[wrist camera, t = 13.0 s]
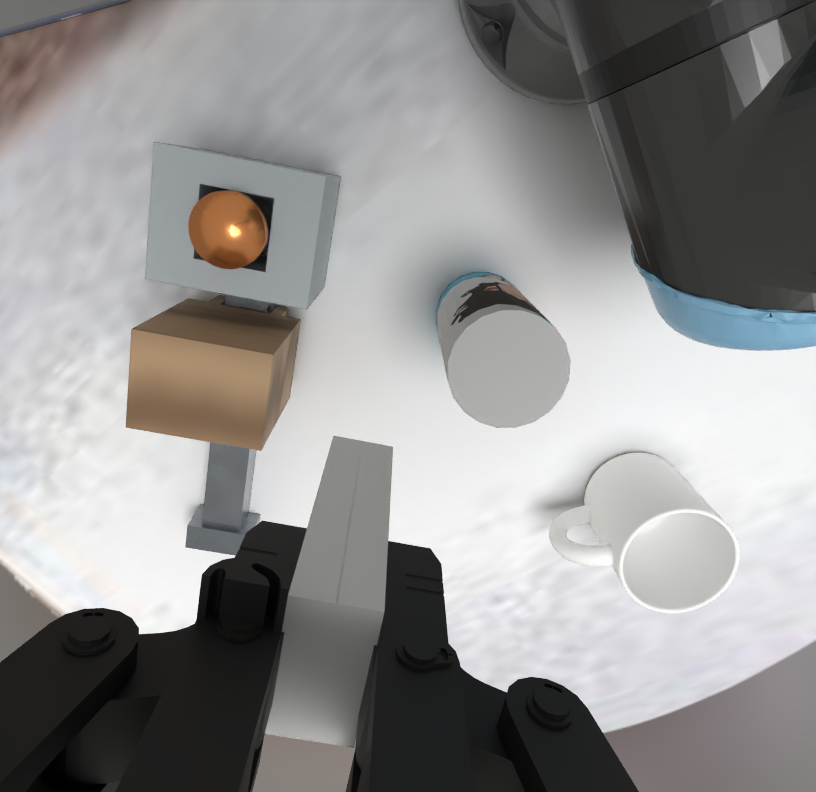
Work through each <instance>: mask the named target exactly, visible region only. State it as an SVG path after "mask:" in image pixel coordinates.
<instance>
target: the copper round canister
mask: <svg viewBox="0 0 816 792" xmlns="http://www.w3.org/2000/svg"><path fill="white" fill-rule="evenodd" d="M272 214H273V207H272V206H271V205H270V204H269V203H268V202H266V201H265V200H263V199H261V198H257V197H248V196H247V195H245V194H242V193H240V192H236V191H216V192H212V193H210V194H207V195H206V196H204V197H202V198H201V199H200V200H199V201H198V202H197V203H196V204H195V206H194V208H193V209H192V211H191V214H190V217H189V223H188V230H189V236H190V240H191V242H192V245H193V247H194V248H195V250H196V251H197V253H198V254H199V255H200V256H201V257H202V258H203V259H204V260H205V261H207V262H208V263H210V264H211V265H213V266H216V267H219V268H222V269H237V268H241V267H244V266H246V265H248V264H250V263H251V262H253V261H255V260H256V259H257V258H258V257H259V256H260V255H261V253H262V252H263V250H264V249H265V246H267V245H269V239H270V231H271V222H272Z"/></svg>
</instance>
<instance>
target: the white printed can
mask: <svg viewBox="0 0 816 792" xmlns="http://www.w3.org/2000/svg"><path fill="white" fill-rule="evenodd" d="M436 324H437V329H438V334H439V339H440V344H441V349H442V354H443V359H444V364H445V369H446V374H447V379H448V383H449V386H450V389H451V392H452V395H453V398H454V399H455V400H456V402H457V403H458V404H459V406H460V407H461V408H462V410H463V411H464V412H465V413H466V414H468V415H469V416H471V417H472V418H474V419H475V420H477V421H478V422H480V423H483V424H486V425H490V426H493V427H496V428H516V427H519V426H522V425H526V424H529V423H532V422H535V421H536V420H538V419H539V418H541V417H542V416H544V415H545V414H547V413H548V412H550V411H551V409H552V408H553V407H554V406H555V405H556V403H557V402H558V401H559V400H560V399H561V397H562V395H563V393H564V391H565V388H566V386H567V383H568V381H569V373H570V357H569V354H568V350H567V346H566V343H565V341H564V340H563V338H562V337H561V335H560V334H559V332H558V331H557V329H556V328H555V327H554V326H553V325H552V324H551V323H550V322H549V321H548V320H547V319H546V318H545V317H544V316H543V315H542V314H541V313H540V312H539V311H538V310H537V309H536V308H535V307H534V306H533V305H532V304H531V303H530V302H529V301H528V300H527V299H526V298H525V297H524V296H523V295H522V294H521V293H520V292H519V291H518V290H517V289H516V288H515V287H514V286H513V285H512V284H511V283H509V282H508V281H507V280H505V279H504V278H503V277H501V276H498V275H495V274H492V273H489V272H474V273H471V274H468V275H464V276H461V277H460V278H458V279H457V280H456V281H454V282H453V283H451V284H450V285H449V286H448V287H447V289H446V290H445V291H444V293H443V294H442V296H441V297H440V300H439V303H438V306H437V309H436Z"/></svg>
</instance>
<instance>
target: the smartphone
mask: <svg viewBox="0 0 816 792" xmlns="http://www.w3.org/2000/svg"><path fill="white" fill-rule="evenodd" d="M127 1H130V0H0V37H3V36H6V35H10V34H14V33H17V32H21V31H24V30H28V29H31V28H35V27H38V26H42V25H45V24H49V23H53V22H56V21H60V20H64V19H68V18H72V17H75V16H79V15H82V14H85V13H88V12H92V11H95V10H99V9H102V8H106V7H109V6H113V5H116V4H120V3H123V2H127Z"/></svg>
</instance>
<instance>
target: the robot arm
mask: <svg viewBox="0 0 816 792" xmlns="http://www.w3.org/2000/svg"><path fill="white" fill-rule="evenodd" d="M459 6H460V12H461V16H462V20H463V23H464V26H465V29H466V32H467V35H468V37H469V39H470V41H471V43H472V45H473V47H474V49H475V51H476V53H477V54H478V56H479V57H480V59H481V60H482V62H483V63H484V64H485V65H486V67H487V68H488V69H489V70H490V71H491V72H492V73H493V74H494V75H495V76H496V77H497V78H498V79H499V80H500V81H502V82H503V83H504V84H505V85H507V86H508V87H510V88H511V89H513V90H515V91H516V92H518V93H520V94H522V95H525V96H527V97H529V98H532V99H535V100H539V101H543V102H548V103H556V104H572V103H581V102H586V101H587V107H588V110H589V113H590V116H591V119H592V122H593V125H594V128H595V131H596V134H597V137H598V140H599V143H600V146H601V149H602V152H603V155H604V159H605V162H606V165H607V168H608V171H609V174H610V177H611V180H612V183H613V186H614V189H615V192H616V195H617V198H618V201H619V204H620V207H621V210H622V213H623V216H624V220H625V223H626V226H627V229H628V232H629V235H630V238H631V241H632V245H631V253H632V258H633V262H634V264H635V266H636V267H637V268H638V270H639V273H640V274H641V275H642V276H643V277H644V278H645V281H646V284H647V286H648V289H649V291H650V294H651V297H652V299H653V302H654V304H655V307H656V309H657V311H658V313H659V315H661V317H662V318H663V319H664V320H665V322H666V323H667V324H668V325H669V326H670V327H672V328H673V329H674V330H675V331H677V332H679V333H680V334H682V335H684V336H686V337H687V338H690V339H692V340H695V341H698V342H701V343H704V344H708V345H712V346H716V347H722V348H729V349H739V350H759V351H760V350H788V349H798V348H805V347H812V346H816V0H459ZM590 102H591V103H590ZM588 103H589V104H588ZM392 455H393V447H391V446H386V445H380V444H375V443H370V442H364V441H359V440H353V439H348V438H343V437H337V436H333V440H332V443H331V447H330V450H329V454H328V457H327V461H326V464H325V468H324V471H323V475H322V478H321V482H320V485H319V489H318V492H317V496H316V499H315V503H314V506H313V510H312V513H311V517H310V520H309V524H308V527H307V529H306V528H301V527H295V526H289V525H284V524H278V523H272V522H267V521H262V522H260V523H259V524H257V525H256V526H254V527H253V528H251V529H250V530H249V531H247V532H246V534H245V537H244V539H243V541H242V543H241V545H240V549H239V550H238V552H237V554H236V556H235V558H231V559H225V560H222V561H220V562H217V563H215V564H213V565H211V566H210V567H209V568H208V569H207V570H206V571H205V572H204V573H203V574H202V579H201V588H200V596H199V604H198V613H197V620H196V622H195V624H193V625H191V626H189V627H187V628H184V629H181V630H177V631H172V632H165V633H154V634H139V628H138V627H137V625H136V624H135V622H134V621H133V619H132V618H130V617H129V616H127V615H125V614H123V613H122V612H120V611H115V610H110V609H105V608H95V609H82V610H79V611H75V612H72V613H68V614H65V615H63V616H62V617H60V618H58V619H57V620H55V621H53V622H51V623H50V624H48V625H47V626H46V627H45V628H43V629H42V630H41V631H39V632H38V633H37V634H36V635H35V636H33V637H32V638H31V639H29V640H28V641H27V642H26V643H24V644H23V645H22V646H21V647H19V648H18V649H17V650H15V651H14V652H13V653H12V654H10V655H9V656H8V657H7V658H5V659H4V660H3V661H1V662H0V792H252V790H253V786H254V782H255V778H256V774H257V770H258V766H259V762H260V757H261V750H262V745H263V739H264V735H265V734H270V735H277V736H283V737H289V738H295V739H302V740H308V741H315V742H322V743H328V744H334V745H341V746H347V747H354V745H355V740H356V749H355V753H354V758H353V762H352V767H351V771H350V775H349V780H348V784H347V789H346V792H639V791H638V790H637V788H636V786H635V785H634V783H633V782H632V780H631V778H630V777H629V775H628V773H627V772H626V770H625V768H624V767H623V765H622V764H621V762H620V761H619V759H618V757H617V755H616V754H615V752H614V751H613V749H612V748H611V746H610V744H609V743H608V741H607V739H606V738H605V736H604V734H603V733H602V731H601V729H600V728H599V726H598V725H597V723H596V721H595V720H594V718H593V716H592V715H591V713H590V712H589V710H588V708H587V707H586V706H585V705H584V704H583V702H582V701H581V700H580V699H579V698H578V696H577V695H575V694H574V693H572V692H571V691H570V690H568V689H567V688H565V687H564V686H562V685H560V684H558V683H555V682H553V681H550V680H548V679H542V678H535V677H528V678H523V679H518V680H517V681H516V682H514V683H513V684H512V685H510V686H509V688H508V692H507V693H506V692H504V691H502V690H499V689H497V688H494V687H492V686H490V685H487V684H485V683H483V682H481V681H479V680H477V679H475V678H474V677H472V676H471V675H469V674H468V673H467V672H465V671H464V670H463V669H462V668H461V667H460V662H459V659H458V657H457V654H456V651H455V650H454V649H453V648H452V647H451V646H450V645H449V644H448V635H447V624H446V613H445V601H444V596H443V594H444V590H443V583H442V580H443V579H442V568H441V563H440V562H439V560H438V559H437V557H436V556H435V555H434V553H433V552H432V550H431V549H430V548H424V547H418V546H413V545H407V544H401V543H396V542H390V541H388V533H389V514H390V494H391V475H392Z"/></svg>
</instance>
